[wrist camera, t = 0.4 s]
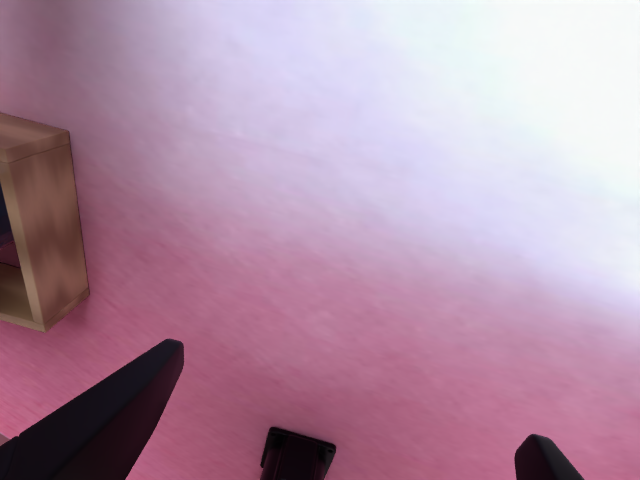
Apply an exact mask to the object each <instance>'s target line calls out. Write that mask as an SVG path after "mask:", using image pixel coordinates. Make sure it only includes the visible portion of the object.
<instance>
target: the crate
mask: <svg viewBox="0 0 640 480" xmlns="http://www.w3.org/2000/svg"><path fill="white" fill-rule="evenodd" d="M69 143H70V139H69V132H68V131H66V130H63V129H59V128H55V127H52V126H48V125H44V124H40V123H37V122H33V121H29V120H26V119H22V118H18V117H14V116H11V115H7V114H3V113H0V183H1V187H2V191H3V195H4V199H5V204H6V208H7V212H8V216H9V220H10V224H11V229H12V233H13V237H14V241H15V245H16V250H17V254H18V258H19V262H20V266H21V269H20V268H17V267H13V266H10V265H6V264H3V263H0V320H3V321H6V322H10V323H13V324H17V325H20V326H24V327H27V328H31V329H34V330H38V331H41V332H45V333H46V332H47V331H48V330H49V329H51V328H52V327H53V326H54V325H55V324H56V323H58V322H59V321H60V320H61V319H62V318H63V317H65V316H66V315H67V314H68V313H69V312H70V311H72V310H73V309H74V308H75V307H76V306H77V305H78V304H80V303H81V302H82V301H83V300H84V299H85V298H87V297H88V296H89V288H88V280H87V273H86V265H85V257H84V250H83V242H82V234H81V226H80V219H79V211H78V203H77V195H76V188H75V180H74V172H73V165H72V157H71V149H70V144H69Z"/></svg>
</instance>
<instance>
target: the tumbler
mask: <svg viewBox="0 0 640 480" xmlns="http://www.w3.org/2000/svg"><path fill="white" fill-rule="evenodd" d="M13 242H14V237H13V233H12V229H11V224H10V220H9V216H8V212H7V208H6V204H5V199H4V195H3V191H2V187H1V183H0V249H2V248H3V247H5V246H7V245H9V244H11V243H13Z"/></svg>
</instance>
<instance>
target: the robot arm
mask: <svg viewBox="0 0 640 480" xmlns="http://www.w3.org/2000/svg"><path fill="white" fill-rule="evenodd" d="M183 365H184V345H183V343H182V342H181V341H177V340H173V339H166V340H164V341H162V342H161V343H159V344H158V345H156V346H155V347H153V348H151V349H150V350H148V351H147V352H145V353H144V354H142V355H141V356H139V357H138V358H136V359H134V360H133V361H131V362H130V363H128V364H127V365H125V366H124V367H122V368H121V369H119V370H117V371H116V372H114V373H113V374H111V375H110V376H108V377H107V378H105V379H104V380H102V381H100V382H99V383H97V384H96V385H94V386H93V387H91V388H90V389H88V390H87V391H85V392H83V393H82V394H80V395H79V396H77V397H76V398H74V399H73V400H71V401H70V402H68V403H66V404H65V405H63V406H62V407H60V408H59V409H57V410H56V411H54V412H53V413H51V414H49V415H48V416H46V417H45V418H43V419H42V420H40V421H39V422H37V423H36V424H34V425H32V426H31V427H29V428H28V429H26V430H25V431H23V432H22V433H20V435H19V437H18V436H15V437H14V438H12V439H11V440H9V441H8V442H6V443H4V444H3V445H1V446H0V480H125V479H126V477H127V476H128V474H129V472H130V471H131V469H132V467H133V466H134V464H135V462H136V460H137V459H138V457H139V455H140V454H141V452H142V450H143V449H144V447H145V445H146V444H147V442H148V440H149V439H150V437H151V435H152V433H153V431H154V430H155V428H156V426H157V424H158V422H159V419H160V417H161V415H162V413H163V411H164V409H165V407H166V404H167V402H168V400H169V398H170V396H171V394H172V391H173V389H174V387H175V385H176V383H177V381H178V378H179V376H180V374H181V372H182V369H183ZM335 453H336V446H335V445H333V444H330V443H327V442H324V441H320V440H317V439H313V438H310V437H306V436H303V435H299V434H296V433H292V432H289V431H286V430H282V429H279V428H275V427H271V428H270V429H269V432H268V436H267V440H266V444H265V448H264V452H263V456H262V460H261V464H260V466H261V467H262V468H263V470H262V474H261V477H260V480H324V478H325V476H326V474H327V471H328V469H329V467H330V464H331V462H332V460H333V457H334V455H335ZM515 470H516V479H517V480H584V479H583V477H582V476H581V475H580V474H579V473H578V471H577V470H576V469H575V468H574V467H573V465H572V464H571V463H570V462H569V460H568V459H567V458H566V457H565V456H564V454H563V453H562V452H561V451H560V450H559V448H558V447H557V446H556V445H555V443H554V442H553V441H552V440H551V439H549V438H547V437H544V436H540V435H536V434H531V435H529V436H528V437H527V438H526V440H525V441H524V442H523V443H522V444H521V446H520V447H519V448H518V449H517V450H516V453H515Z"/></svg>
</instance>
